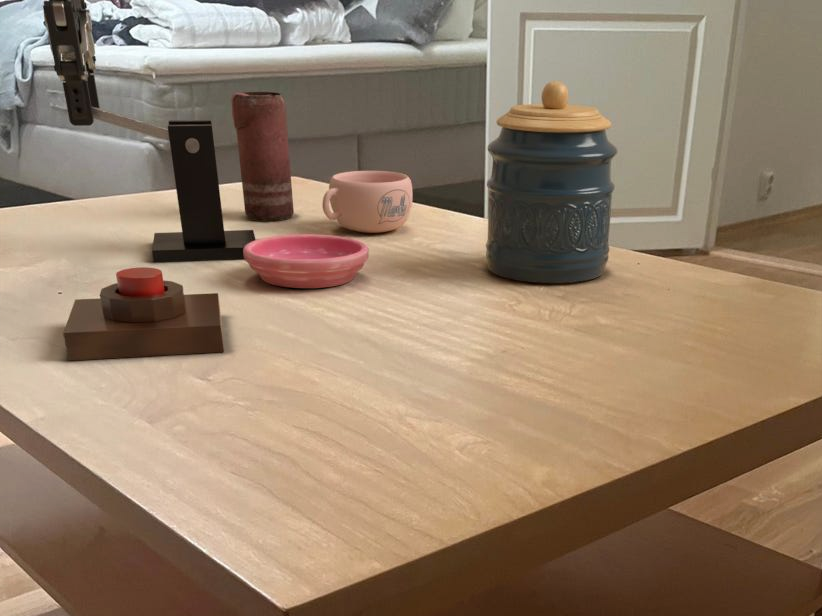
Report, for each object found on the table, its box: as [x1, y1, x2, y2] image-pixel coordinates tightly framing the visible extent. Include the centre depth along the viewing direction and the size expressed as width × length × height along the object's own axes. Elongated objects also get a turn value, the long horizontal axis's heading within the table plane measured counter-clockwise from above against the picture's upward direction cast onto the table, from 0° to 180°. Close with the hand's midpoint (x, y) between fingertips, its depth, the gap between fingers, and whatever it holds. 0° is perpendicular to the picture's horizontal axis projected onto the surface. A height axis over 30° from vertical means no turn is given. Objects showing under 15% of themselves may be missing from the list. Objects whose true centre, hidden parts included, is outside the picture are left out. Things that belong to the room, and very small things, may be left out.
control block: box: [62, 279, 225, 362], centre depth 83 cm, size 12×10×4 cm
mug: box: [321, 170, 414, 234], centre depth 120 cm, size 12×10×6 cm
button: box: [115, 266, 165, 297], centre depth 82 cm, size 4×4×2 cm
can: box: [230, 91, 295, 222], centre depth 124 cm, size 6×6×14 cm
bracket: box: [151, 119, 257, 263], centre depth 108 cm, size 11×9×13 cm
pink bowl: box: [243, 233, 369, 289], centre depth 101 cm, size 12×12×3 cm
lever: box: [91, 106, 170, 142], centre depth 104 cm, size 13×5×2 cm, turn 104°
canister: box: [485, 80, 618, 284], centre depth 102 cm, size 13×13×18 cm
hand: (86, 119), depth 102 cm, fingers open, 8 cm apart
